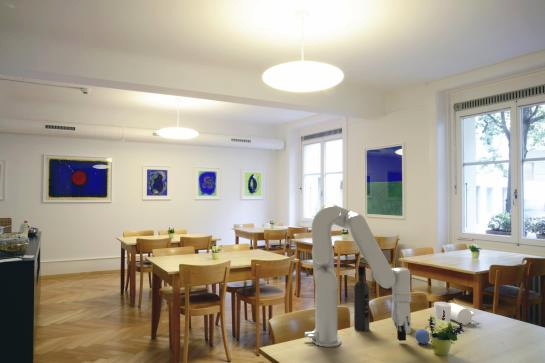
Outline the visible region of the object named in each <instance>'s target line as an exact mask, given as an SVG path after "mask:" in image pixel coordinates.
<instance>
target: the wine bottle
mask: <svg viewBox="0 0 545 363" xmlns="http://www.w3.org/2000/svg"><path fill="white" fill-rule="evenodd" d="M357 270H358V272H357V273H358V281H356V282H355V284H354V287H353V301H354V302H353V304H354V305H353V313H354V314H353V315H354V318H353V322H354V324H353V325H354V329H355V331H360V332H363V333H364V332H366V331H368V330H369V329H370V288H369V284H368V283H367V282H366V281H365V265H362V264H360V265H358V266H357Z"/></svg>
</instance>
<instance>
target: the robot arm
mask: <svg viewBox="0 0 545 363" xmlns="http://www.w3.org/2000/svg"><path fill="white" fill-rule="evenodd" d="M333 225H335V226H338V227H341V228H344V229H347V230H348V231H349V233H350V235H351V237H352V239H353V241H354V243H355V245H356V247H357V249H358V251H359V253H360V255H361V256H362V257H363V259H364V260H365V261H366V263H367V264H368V266H370V269H371V270H372V278H373V279H374V281H375V282H376V283H377V284H378V285H379V286H380V287H381V288H384V289H390V288H391V294H392V295H391V321H393V322H395V323H396V324H397V326H396V329H397V335H396V336H397V340H398V341H401V342H403V341H407V333H406V330H408V326H410V324H411V325H412V321H411V319H412V318H411V317H412V316H411V315H412V314H411V306H410V302H411V271H410V269H409V268H407V267H398V266H397V267H391V266H390V264H389V261H388V259H387V258H386V256H385V255H384V253H383V251H382V248H381V247H380V245H379V243H378V242H377V239H376V238H375V236H374V234H373V232H372V230H371V228H370V226H369V224H368V222H367V220H366V219H365V217H364V216H363V215H362V214H361V213H358V212H355V211H352V210H350V209H346V208H343V207H342V206H338V205H337V204H335V203H326V204H324V205H323V206H322V207H321V209H320V210H319V211H318V212H317V213H316V215H315V216H314V217H313V220H312V224H311V241H312V242H311V243H312V248H311V257H312V268H313V276H314V282H315V283H314V284H315V285H314V286H315V293H314V294H315V295H314V297H315V302H314V305H315V306H314V307H315V309H314V310H315V312H314V313H315V316H314V317H315V328H314V329H313V330H312V331H305V332H304V337H305V338H307V337H308V339H311V342H312V343H313V344H314V343H315V344H314V345H316V346H318V345H319V346H318V347H323V346H324V348H332V347H333V348H334V347H337V346H340V345H341V343H342V339H341V337H339V335H338V334H339V333H338V290H339V282H338V281H339V280H338V275H337V274H336V271H335V266H334V258H335V252H334V248H333V240H332V227H333ZM410 314H411V315H410Z"/></svg>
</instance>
